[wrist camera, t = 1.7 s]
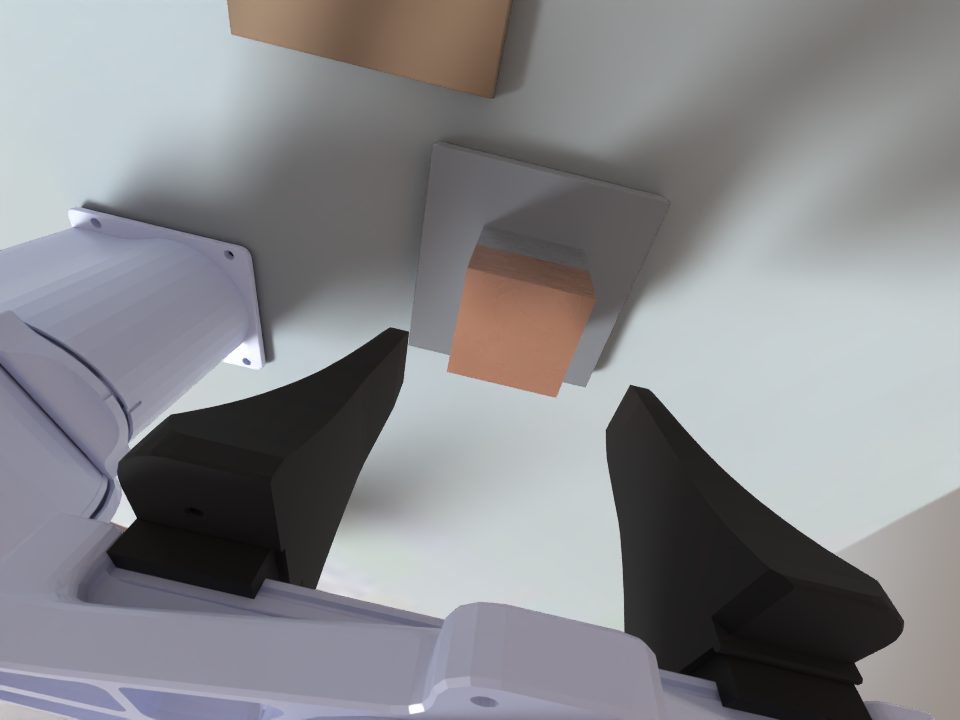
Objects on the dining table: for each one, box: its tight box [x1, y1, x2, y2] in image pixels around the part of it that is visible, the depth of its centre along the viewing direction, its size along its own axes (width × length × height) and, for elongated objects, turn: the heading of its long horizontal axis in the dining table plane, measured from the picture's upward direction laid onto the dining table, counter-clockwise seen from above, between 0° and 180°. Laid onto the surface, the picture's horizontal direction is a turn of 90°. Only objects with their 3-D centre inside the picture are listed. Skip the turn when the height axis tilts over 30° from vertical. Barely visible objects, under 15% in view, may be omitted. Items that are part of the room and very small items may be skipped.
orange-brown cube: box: [447, 226, 596, 398], centre depth 17 cm, size 5×5×5 cm
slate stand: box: [409, 141, 670, 387], centre depth 20 cm, size 10×10×1 cm
